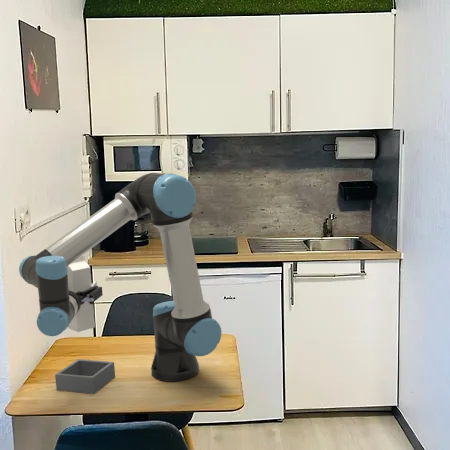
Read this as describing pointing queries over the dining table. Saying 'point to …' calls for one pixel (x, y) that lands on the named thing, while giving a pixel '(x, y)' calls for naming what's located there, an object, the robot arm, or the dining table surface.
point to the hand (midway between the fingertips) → (81, 286)
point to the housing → (85, 376)
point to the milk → (80, 282)
